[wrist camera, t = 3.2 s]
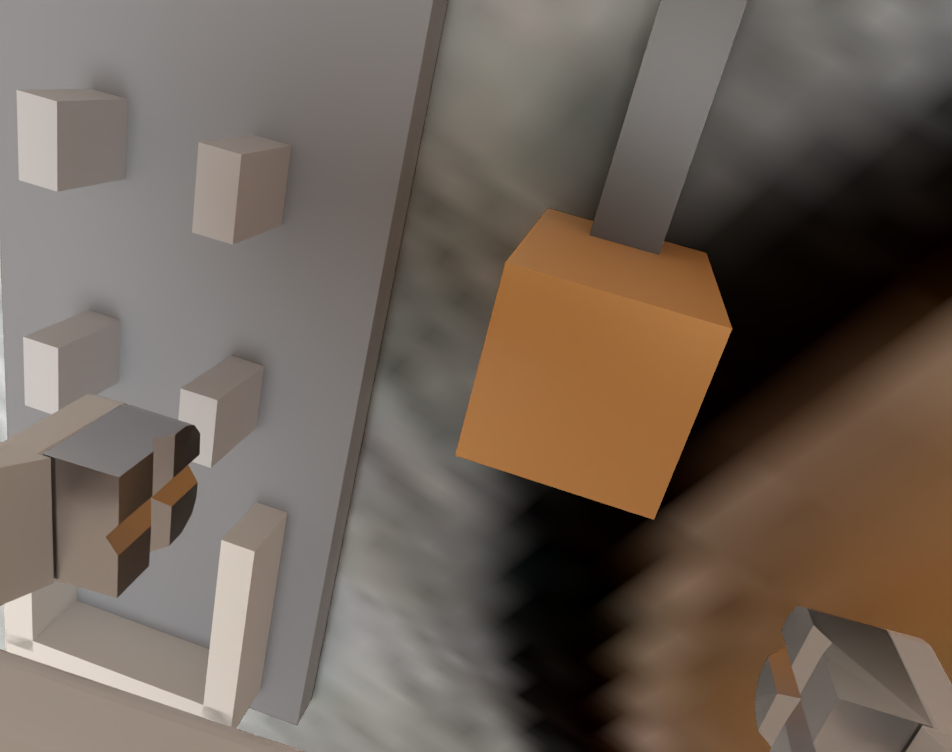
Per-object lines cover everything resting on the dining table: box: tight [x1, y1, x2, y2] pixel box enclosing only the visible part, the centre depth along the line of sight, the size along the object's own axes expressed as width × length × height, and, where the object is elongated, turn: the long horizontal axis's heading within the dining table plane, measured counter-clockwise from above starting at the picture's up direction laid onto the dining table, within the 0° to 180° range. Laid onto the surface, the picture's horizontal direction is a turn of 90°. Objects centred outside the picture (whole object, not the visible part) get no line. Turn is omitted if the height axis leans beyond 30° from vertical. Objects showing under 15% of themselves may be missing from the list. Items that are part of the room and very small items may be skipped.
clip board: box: [0, 0, 448, 728], centre depth 19 cm, size 11×28×4 cm, turn 166°
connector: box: [455, 0, 748, 520], centre depth 13 cm, size 17×4×6 cm, turn 166°
